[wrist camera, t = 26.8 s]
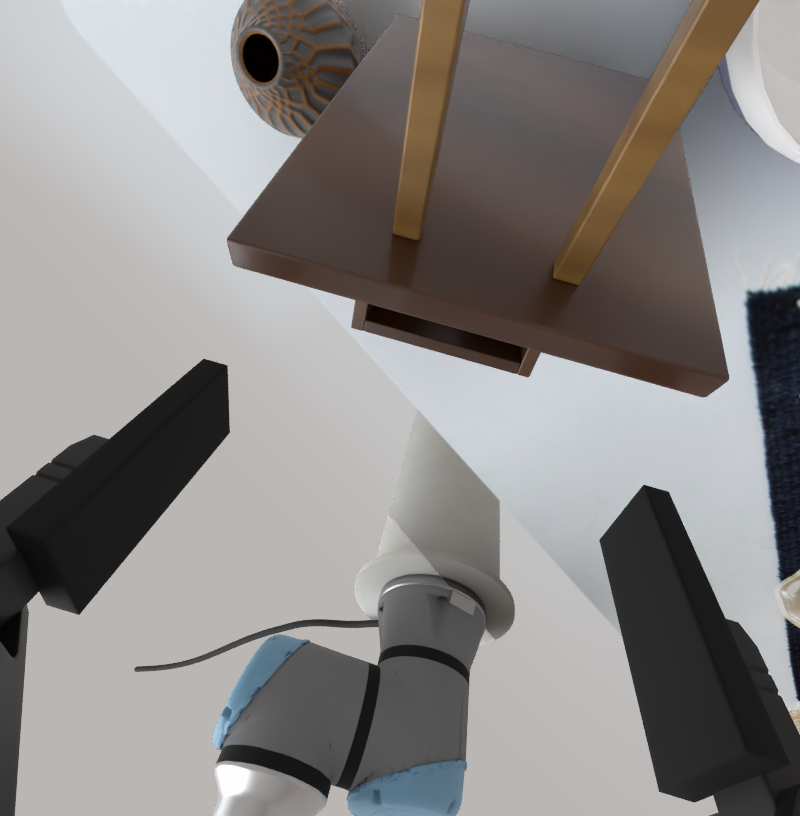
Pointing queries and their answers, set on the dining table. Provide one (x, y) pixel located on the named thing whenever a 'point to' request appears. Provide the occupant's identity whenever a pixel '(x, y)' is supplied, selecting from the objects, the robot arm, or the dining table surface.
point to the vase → (292, 59)
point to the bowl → (768, 74)
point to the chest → (444, 339)
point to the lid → (510, 196)
